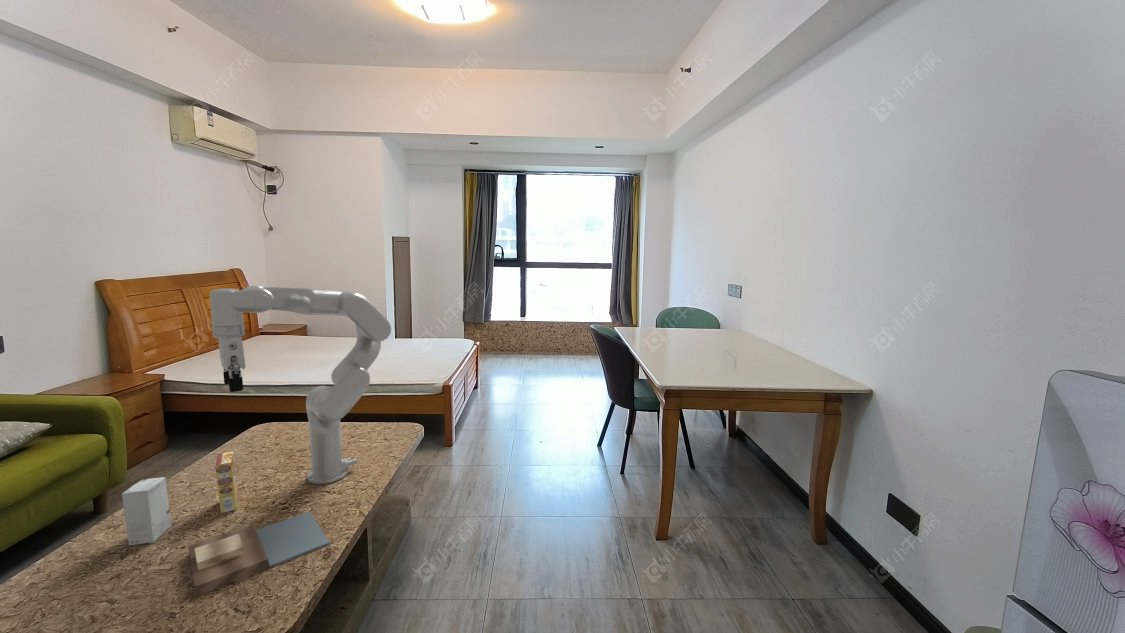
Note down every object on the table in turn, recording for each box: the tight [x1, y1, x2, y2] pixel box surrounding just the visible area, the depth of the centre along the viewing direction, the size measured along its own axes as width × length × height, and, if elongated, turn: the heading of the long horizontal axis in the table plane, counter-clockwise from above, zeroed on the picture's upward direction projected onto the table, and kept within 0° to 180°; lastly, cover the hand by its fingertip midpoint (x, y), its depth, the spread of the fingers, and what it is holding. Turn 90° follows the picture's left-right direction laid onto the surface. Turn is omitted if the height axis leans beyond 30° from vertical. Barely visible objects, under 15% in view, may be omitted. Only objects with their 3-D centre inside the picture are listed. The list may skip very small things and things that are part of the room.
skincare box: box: [121, 476, 172, 546], centre depth 124 cm, size 8×6×15 cm
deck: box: [187, 524, 270, 597], centre depth 115 cm, size 14×19×2 cm
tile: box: [195, 534, 244, 571], centre depth 113 cm, size 9×7×2 cm
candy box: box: [214, 451, 239, 514], centre depth 139 cm, size 9×4×15 cm, turn 33°
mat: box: [255, 511, 331, 568], centre depth 124 cm, size 14×19×1 cm
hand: (233, 387), depth 137 cm, fingers open, 9 cm apart
